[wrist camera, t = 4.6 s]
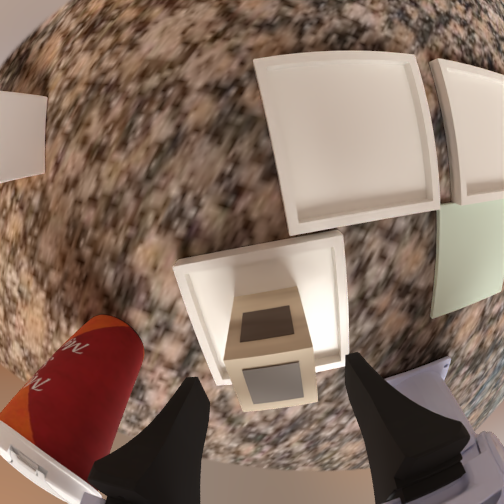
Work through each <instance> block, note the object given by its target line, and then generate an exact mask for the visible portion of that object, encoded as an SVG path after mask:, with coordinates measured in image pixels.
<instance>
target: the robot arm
mask: <svg viewBox="0 0 504 504" xmlns="http://www.w3.org/2000/svg"><path fill="white" fill-rule="evenodd" d="M450 361H451V358H450V357H449V356H446V357H444V358H441V359H439V360H436V361H434V362H431V363H429V364H426V365H424V366H421V367H418V368H415V369H413V370H410V371H407V372H404V373H401V374H398V375H395V376H392V377H389V378H385V379H384V378H382V377H381V376H380V375H379V374H378V373H377V372H376V371H375V370H374V369H373V368H372V367H371V366H370V365H369V364H368V363H367V361H366V360H365V359H364V358H363V357H362V356H361V355H360V353H358V352H355V353H351V354H347V355H345V385H346V389H347V393H348V397H349V400H350V403H351V406H352V408H353V411H354V414H355V416H356V419H357V422H358V424H359V427H360V429H361V432H362V435H363V438H364V442H365V446H366V450H367V455H368V459H369V464H370V469H371V474H372V480H373V487H374V495H375V503H376V504H504V446H503V445H502V443H501V442H500V441H499V439H498V438H497V436H496V435H495V434H494V433H492V432H485V431H483V432H481V433H480V434H479V435H478V434H476V433H475V432H474V430H473V428H472V426H471V424H470V423H469V421H468V419H467V417H466V416H465V414H464V412H463V411H462V409H461V407H460V406H459V404H458V402H457V401H456V399H455V397H454V396H453V394H452V393H451V391H450V389H449V388H448V386H447V385H446V383H445V382H444V379H445V377H446V374H447V371H448V368H449V365H450ZM209 412H210V401H209V399H208V397H207V395H206V393H205V391H204V389H203V387H202V385H201V383H200V381H199V379H198V377H188V378H186V379H185V380H184V381H183V383H182V384H181V386H180V387H179V388H178V390H177V391H176V392H175V394H174V395H173V397H172V398H171V399H170V400H169V402H168V403H167V404H166V406H165V407H164V408H163V409H162V411H161V412H160V413H159V414H158V415H157V416H156V417H155V419H154V420H153V421H152V422H151V423H150V424H149V425H148V426H147V427H146V428H145V429H144V430H143V431H142V432H140V433H139V434H138V435H137V436H136V437H134V438H133V439H132V440H130V441H129V442H128V443H127V444H125V445H124V446H122V447H121V448H119V449H117V450H116V451H114V452H112V453H111V454H109V455H107V456H105V457H103V458H101V459H99V460H96V461H95V462H94V464H93V466H92V469H91V471H90V473H89V476H88V478H87V480H88V482H89V483H90V484H91V485H92V486H93V487H95V488H96V489H98V490H99V491H100V492H102V493H103V494H105V495H107V499H106V500H105V499H103V498H100V497H98V496H95V495H92V494H89V493H87V492H84V494H83V497H82V499H81V502H80V504H200V473H201V459H202V453H203V448H204V443H205V438H206V433H207V427H208V422H209Z"/></svg>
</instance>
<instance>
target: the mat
mask: <svg viewBox="0 0 504 504" xmlns="http://www.w3.org/2000/svg"><path fill="white" fill-rule="evenodd" d="M436 217H437V237H436V263H435V277H434V287H433V297H432V305H431V312H430V317H431V318H432V319H434V318H437V317H439V316H442V315H445V314H448V313H450V312H453V311H456V310H458V309H461V308H463V307H466V306H468V305H471V304H473V303H476V302H478V301H480V300H483V299H485V298H487V297H490V296H492V295H494V294H496V293H499V292H501V289H502V284H503V278H504V199H499V200H493V201H487V202H481V203H475V204H469V205H463V206H461V205H458V204H455V203H452V202H450V203H443V204H440V209H439V210H436Z"/></svg>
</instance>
